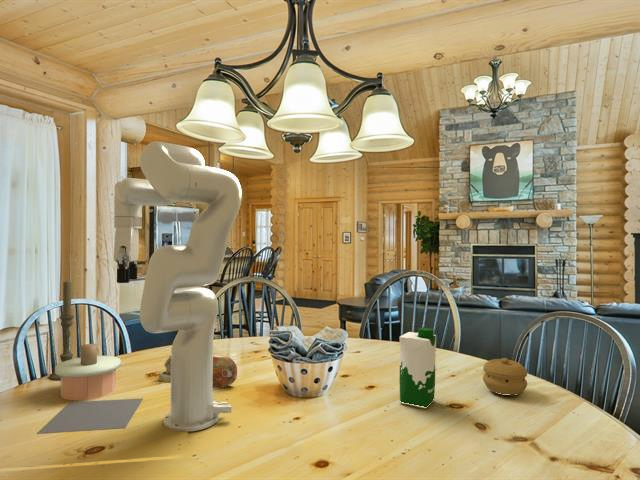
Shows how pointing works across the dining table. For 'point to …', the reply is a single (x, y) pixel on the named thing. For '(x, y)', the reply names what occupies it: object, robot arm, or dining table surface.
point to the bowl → (88, 386)
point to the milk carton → (417, 367)
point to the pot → (505, 376)
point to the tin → (223, 371)
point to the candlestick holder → (65, 325)
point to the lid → (87, 363)
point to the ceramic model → (166, 372)
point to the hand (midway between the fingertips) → (127, 281)
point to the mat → (92, 416)
